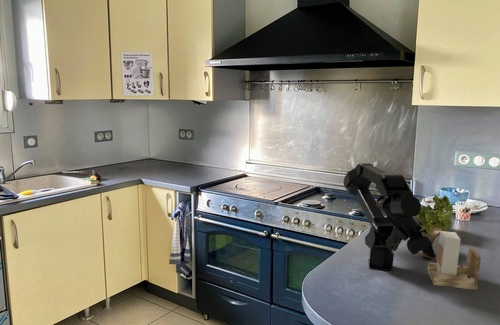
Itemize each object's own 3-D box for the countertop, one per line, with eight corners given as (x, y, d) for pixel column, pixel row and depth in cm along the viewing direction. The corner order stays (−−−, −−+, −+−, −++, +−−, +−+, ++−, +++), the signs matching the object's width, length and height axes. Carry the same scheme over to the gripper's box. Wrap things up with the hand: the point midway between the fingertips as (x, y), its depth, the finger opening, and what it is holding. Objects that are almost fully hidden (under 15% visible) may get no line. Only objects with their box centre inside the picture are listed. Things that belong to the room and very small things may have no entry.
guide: (433, 284, 116) (437, 254, 114) (427, 270, 126) (430, 241, 124) (477, 290, 113) (481, 259, 112) (467, 274, 123) (471, 246, 122)
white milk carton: (438, 278, 117) (443, 237, 115) (434, 269, 123) (438, 230, 121) (455, 280, 116) (460, 239, 114) (450, 271, 122) (455, 232, 120)
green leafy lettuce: (471, 230, 149) (443, 203, 145) (434, 252, 156) (406, 227, 152) (456, 202, 165) (431, 177, 161) (423, 223, 172) (398, 199, 168)
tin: (434, 247, 145) (436, 224, 143) (443, 249, 143) (446, 226, 141) (420, 260, 133) (423, 235, 132) (430, 262, 131) (433, 237, 130)
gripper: (374, 221, 131) (406, 259, 130) (377, 242, 113) (414, 286, 113) (404, 200, 128) (436, 240, 127) (412, 218, 110) (450, 264, 109)
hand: (433, 257), depth 119 cm, fingers closed
